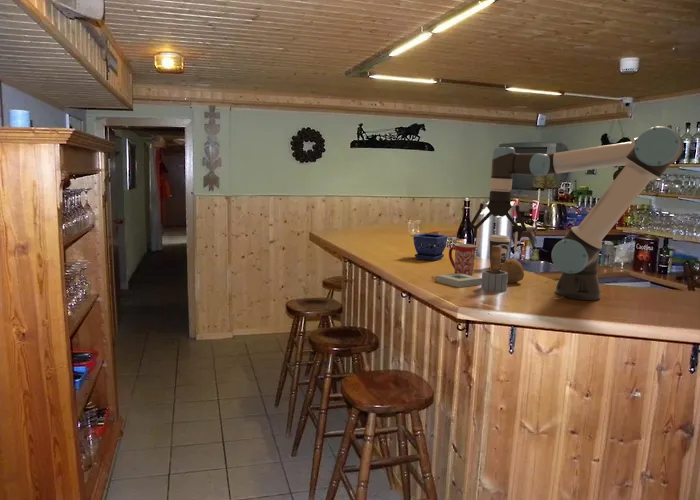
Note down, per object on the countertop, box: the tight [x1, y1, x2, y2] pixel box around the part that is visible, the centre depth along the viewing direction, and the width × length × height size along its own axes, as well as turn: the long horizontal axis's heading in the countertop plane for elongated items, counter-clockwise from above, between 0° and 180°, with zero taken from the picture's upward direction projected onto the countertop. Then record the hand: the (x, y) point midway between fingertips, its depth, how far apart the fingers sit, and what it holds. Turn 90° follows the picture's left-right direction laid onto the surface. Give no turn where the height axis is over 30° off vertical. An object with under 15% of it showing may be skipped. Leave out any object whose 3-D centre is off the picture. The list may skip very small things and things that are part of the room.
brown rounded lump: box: [500, 258, 525, 284], centre depth 216 cm, size 9×9×10 cm
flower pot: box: [413, 232, 448, 262], centre depth 271 cm, size 13×13×12 cm
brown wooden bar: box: [489, 246, 502, 274], centre depth 201 cm, size 4×4×16 cm
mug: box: [448, 243, 477, 276], centre depth 227 cm, size 13×9×14 cm
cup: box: [480, 269, 508, 293], centre depth 202 cm, size 9×9×7 cm
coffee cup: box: [488, 234, 511, 271], centre depth 249 cm, size 10×10×15 cm
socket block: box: [436, 272, 482, 288], centre depth 211 cm, size 12×12×3 cm
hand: (495, 248), depth 200 cm, fingers open, 13 cm apart
